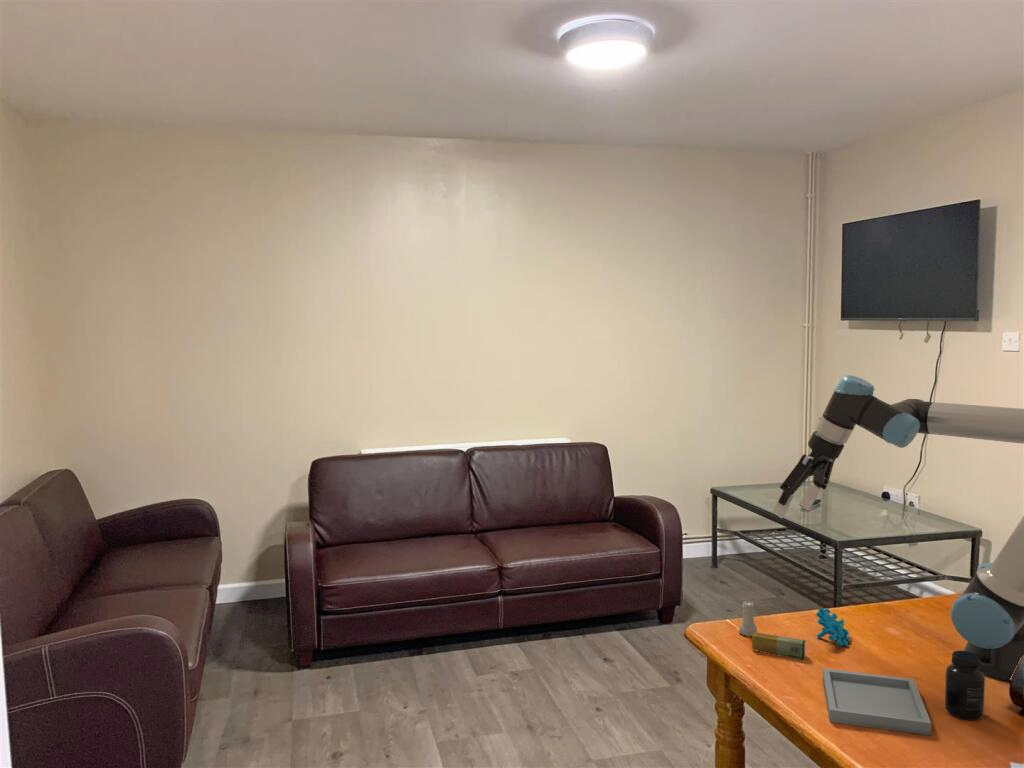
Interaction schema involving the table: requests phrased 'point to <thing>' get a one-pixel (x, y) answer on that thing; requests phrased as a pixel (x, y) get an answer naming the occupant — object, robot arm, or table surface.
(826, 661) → the table surface
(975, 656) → the supplement bottle
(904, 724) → the tray
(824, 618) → the blue bumpy irregular piece
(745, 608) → the rook chess piece
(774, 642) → the medication box
